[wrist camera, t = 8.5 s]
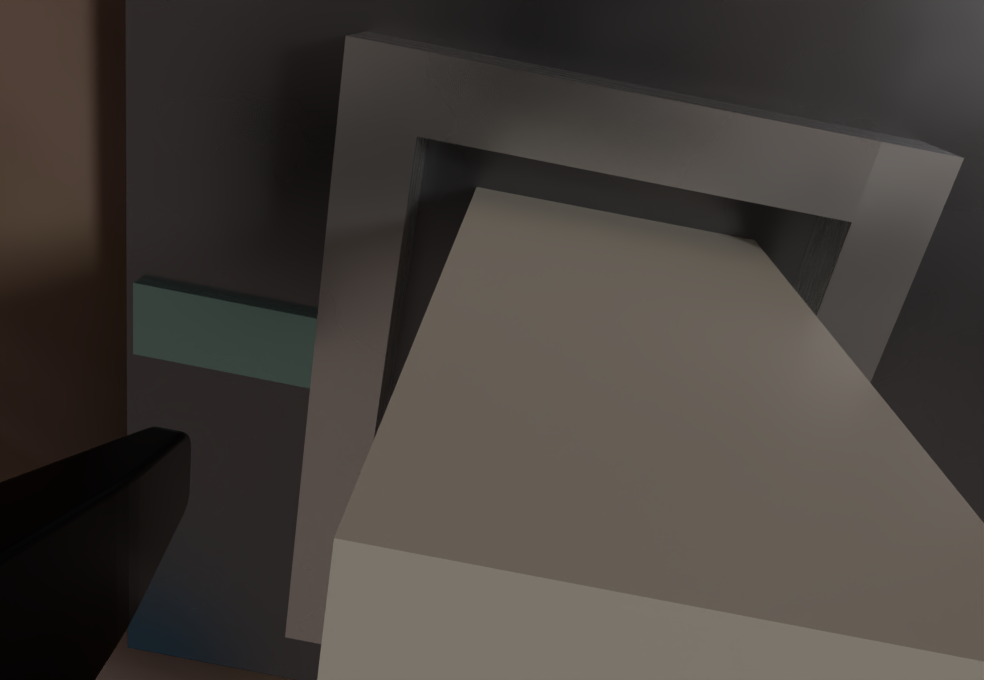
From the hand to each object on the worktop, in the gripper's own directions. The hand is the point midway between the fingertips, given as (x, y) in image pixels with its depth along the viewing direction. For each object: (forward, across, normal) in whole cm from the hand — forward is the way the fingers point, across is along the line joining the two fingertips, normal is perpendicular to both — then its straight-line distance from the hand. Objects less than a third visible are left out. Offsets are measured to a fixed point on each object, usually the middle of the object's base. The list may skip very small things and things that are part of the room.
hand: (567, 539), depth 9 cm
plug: (+4, 0, 0) cm, 4 cm away
